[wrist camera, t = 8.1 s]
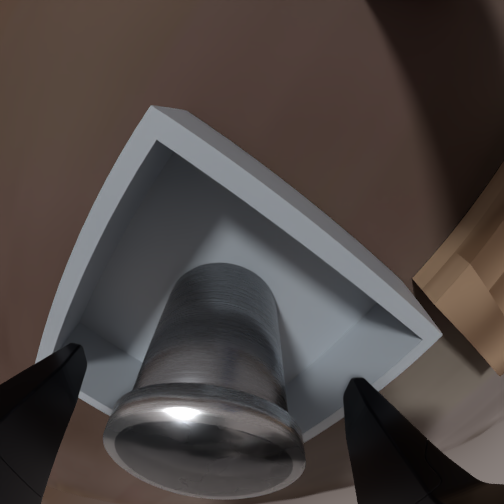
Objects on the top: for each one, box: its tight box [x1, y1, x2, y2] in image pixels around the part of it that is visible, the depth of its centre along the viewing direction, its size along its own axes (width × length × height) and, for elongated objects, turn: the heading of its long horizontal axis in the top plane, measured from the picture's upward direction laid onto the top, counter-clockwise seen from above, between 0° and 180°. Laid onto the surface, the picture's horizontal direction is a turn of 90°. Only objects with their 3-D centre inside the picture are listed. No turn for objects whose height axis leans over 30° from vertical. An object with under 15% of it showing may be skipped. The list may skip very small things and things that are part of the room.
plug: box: [103, 262, 306, 499], centre depth 9 cm, size 5×5×7 cm
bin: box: [35, 105, 443, 443], centre depth 11 cm, size 11×11×4 cm
